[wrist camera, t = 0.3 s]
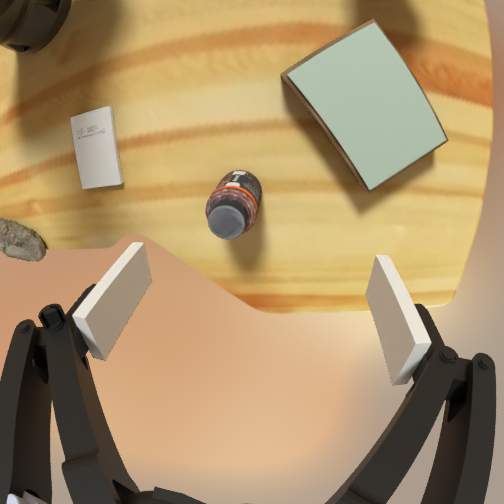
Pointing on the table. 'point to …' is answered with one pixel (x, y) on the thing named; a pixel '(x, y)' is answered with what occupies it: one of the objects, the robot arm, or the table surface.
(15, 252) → the elongated rock
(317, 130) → the table surface
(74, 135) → the external hard drive
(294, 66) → the walnut stand
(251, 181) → the supplement bottle
